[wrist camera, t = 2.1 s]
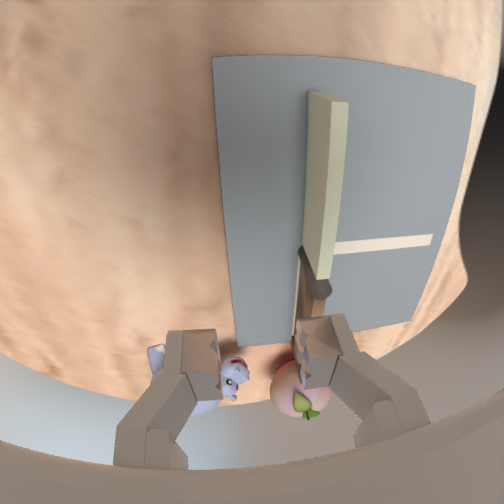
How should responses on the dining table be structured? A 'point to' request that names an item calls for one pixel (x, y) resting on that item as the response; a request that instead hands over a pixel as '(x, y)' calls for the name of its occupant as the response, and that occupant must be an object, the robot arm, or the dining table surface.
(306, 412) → the decorative fruit
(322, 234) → the fence gate
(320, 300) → the fence fixed
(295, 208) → the board
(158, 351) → the hippopotamus toy
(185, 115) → the dining table surface
